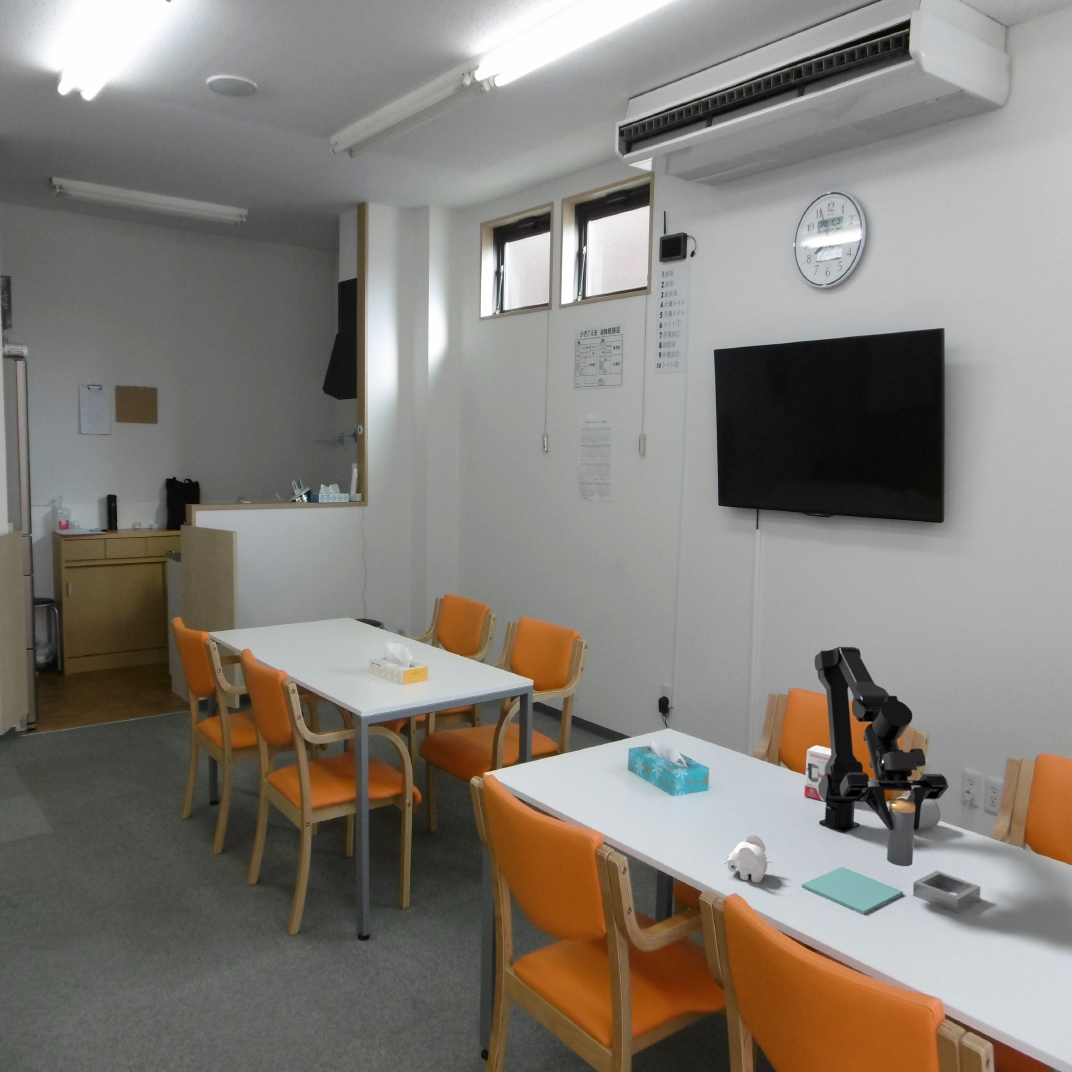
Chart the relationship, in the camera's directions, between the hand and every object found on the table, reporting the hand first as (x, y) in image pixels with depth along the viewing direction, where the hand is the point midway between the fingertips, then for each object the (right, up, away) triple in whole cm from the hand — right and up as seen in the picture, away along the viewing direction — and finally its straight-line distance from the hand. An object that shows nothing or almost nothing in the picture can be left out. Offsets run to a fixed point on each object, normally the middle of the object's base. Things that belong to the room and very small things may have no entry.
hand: (904, 829), depth 167 cm
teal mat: (-8, -13, +4) cm, 16 cm away
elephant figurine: (-27, -13, +10) cm, 31 cm away
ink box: (+2, -10, +53) cm, 54 cm away
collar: (+9, -13, +2) cm, 16 cm away
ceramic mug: (+16, -11, +36) cm, 41 cm away
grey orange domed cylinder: (0, -6, +2) cm, 7 cm away
